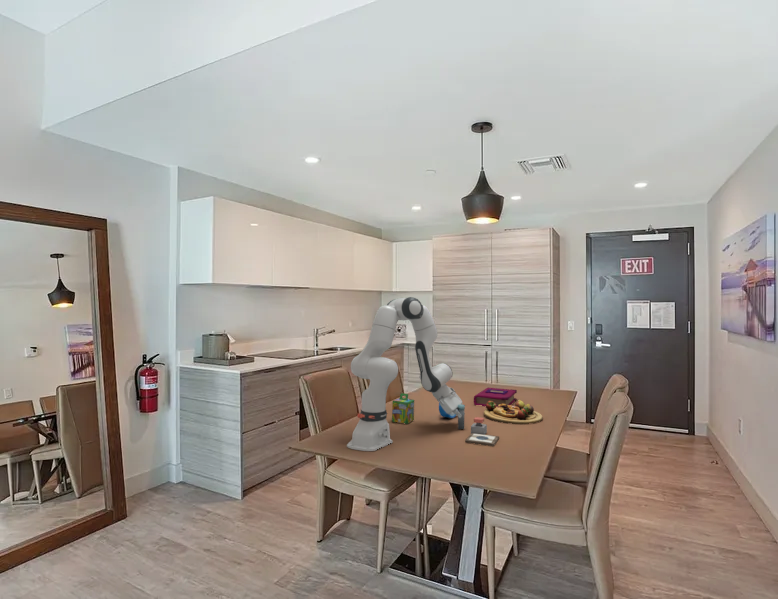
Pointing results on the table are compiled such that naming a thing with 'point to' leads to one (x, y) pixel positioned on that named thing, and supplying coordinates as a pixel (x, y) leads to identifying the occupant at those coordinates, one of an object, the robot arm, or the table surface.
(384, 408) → the robot arm
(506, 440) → the table surface
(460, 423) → the joystick
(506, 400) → the book
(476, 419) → the button
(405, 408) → the chalk box
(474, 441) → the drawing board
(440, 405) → the alarm clock
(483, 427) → the button box
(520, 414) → the wooden plate with food
